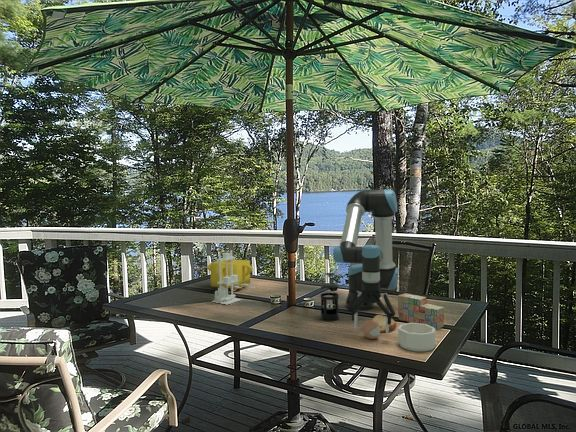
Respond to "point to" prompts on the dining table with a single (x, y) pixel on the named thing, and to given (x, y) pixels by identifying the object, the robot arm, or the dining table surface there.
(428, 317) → the stack of blocks
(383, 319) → the slice of bread
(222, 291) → the machine
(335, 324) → the dining table surface
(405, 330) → the white bowl
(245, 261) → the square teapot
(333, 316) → the french press
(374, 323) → the toy ball
